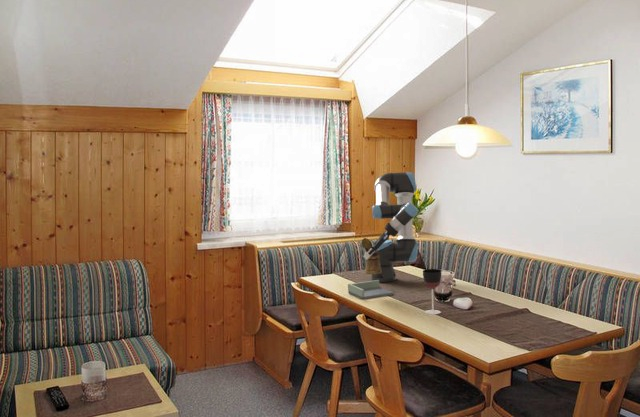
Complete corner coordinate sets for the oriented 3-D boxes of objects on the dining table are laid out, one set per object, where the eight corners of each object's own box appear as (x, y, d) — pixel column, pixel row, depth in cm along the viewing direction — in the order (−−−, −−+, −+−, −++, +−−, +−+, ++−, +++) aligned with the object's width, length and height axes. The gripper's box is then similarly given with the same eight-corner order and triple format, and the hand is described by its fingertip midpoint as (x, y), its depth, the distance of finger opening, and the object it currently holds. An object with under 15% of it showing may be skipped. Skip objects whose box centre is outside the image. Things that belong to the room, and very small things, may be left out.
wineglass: (421, 310, 291) (420, 269, 289) (439, 309, 291) (438, 268, 289) (426, 314, 283) (425, 273, 281) (444, 313, 283) (443, 272, 281)
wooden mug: (372, 269, 333) (371, 236, 331) (384, 273, 320) (383, 239, 318) (358, 271, 329) (357, 238, 327) (370, 275, 317) (368, 241, 315)
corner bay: (378, 288, 338) (378, 279, 337) (393, 294, 323) (393, 285, 323) (348, 293, 330) (348, 284, 329) (362, 299, 315) (362, 290, 315)
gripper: (398, 234, 309) (369, 265, 313) (399, 228, 331) (371, 257, 335) (388, 224, 309) (358, 255, 313) (389, 219, 331) (362, 248, 335)
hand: (365, 256), depth 324 cm, fingers closed on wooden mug, 10 cm apart
